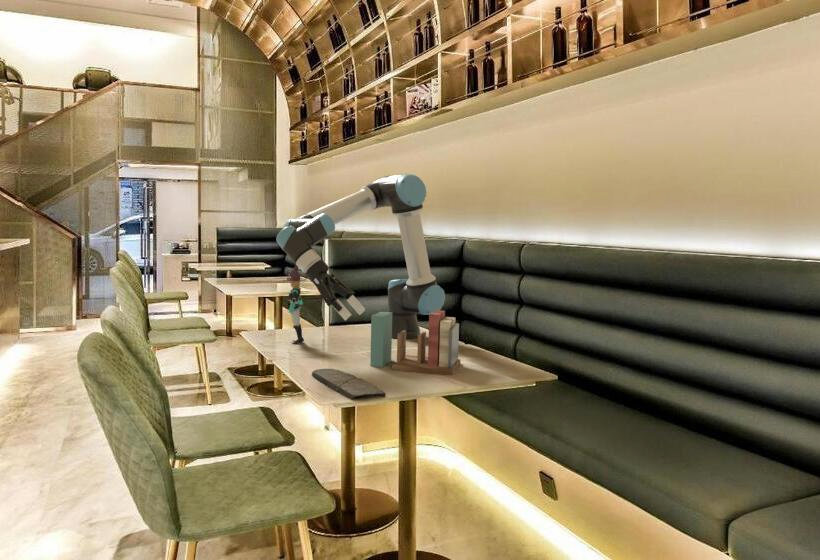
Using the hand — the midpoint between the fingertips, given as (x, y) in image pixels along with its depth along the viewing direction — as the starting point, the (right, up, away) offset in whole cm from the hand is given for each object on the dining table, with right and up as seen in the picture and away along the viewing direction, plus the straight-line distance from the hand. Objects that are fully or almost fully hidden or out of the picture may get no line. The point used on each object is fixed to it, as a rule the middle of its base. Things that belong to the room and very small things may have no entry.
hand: (355, 315), depth 198 cm
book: (+8, -16, 0) cm, 18 cm away
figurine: (-26, -12, +30) cm, 42 cm away
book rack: (+24, -16, -4) cm, 29 cm away
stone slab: (0, -18, -29) cm, 34 cm away
